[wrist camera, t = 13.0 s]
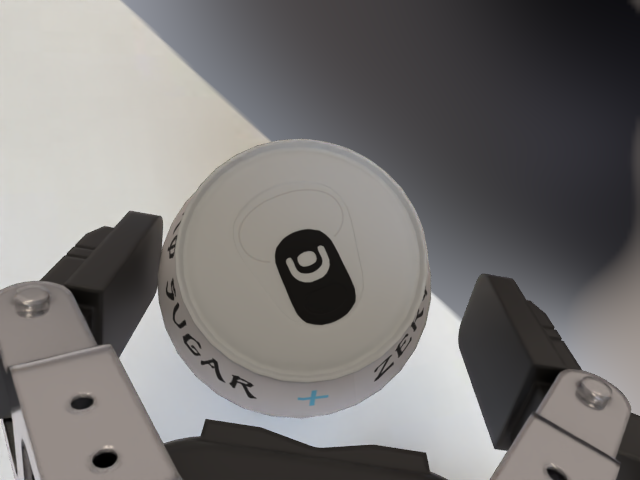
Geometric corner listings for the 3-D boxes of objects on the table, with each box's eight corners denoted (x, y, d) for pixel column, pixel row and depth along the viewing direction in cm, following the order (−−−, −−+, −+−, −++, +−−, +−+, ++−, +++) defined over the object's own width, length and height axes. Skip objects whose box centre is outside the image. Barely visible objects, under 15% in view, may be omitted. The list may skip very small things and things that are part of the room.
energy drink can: (310, 263, 25) (376, 77, 11) (363, 380, 24) (514, 335, 10) (191, 311, 24) (96, 168, 10) (240, 438, 23) (210, 483, 8)
